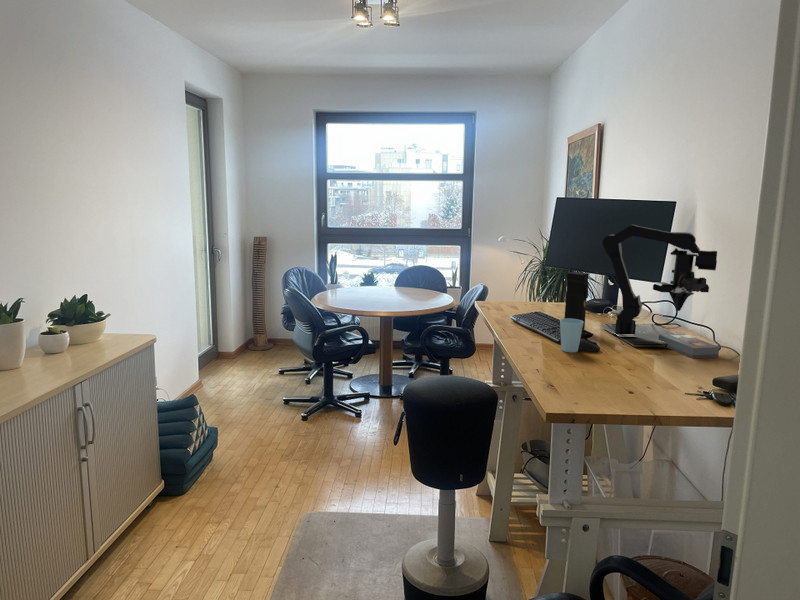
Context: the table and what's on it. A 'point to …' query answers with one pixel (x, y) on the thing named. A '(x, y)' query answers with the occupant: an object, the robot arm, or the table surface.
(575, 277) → the portable radio
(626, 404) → the table surface
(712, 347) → the keypad
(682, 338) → the cream key
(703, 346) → the terracotta key
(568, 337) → the cup
